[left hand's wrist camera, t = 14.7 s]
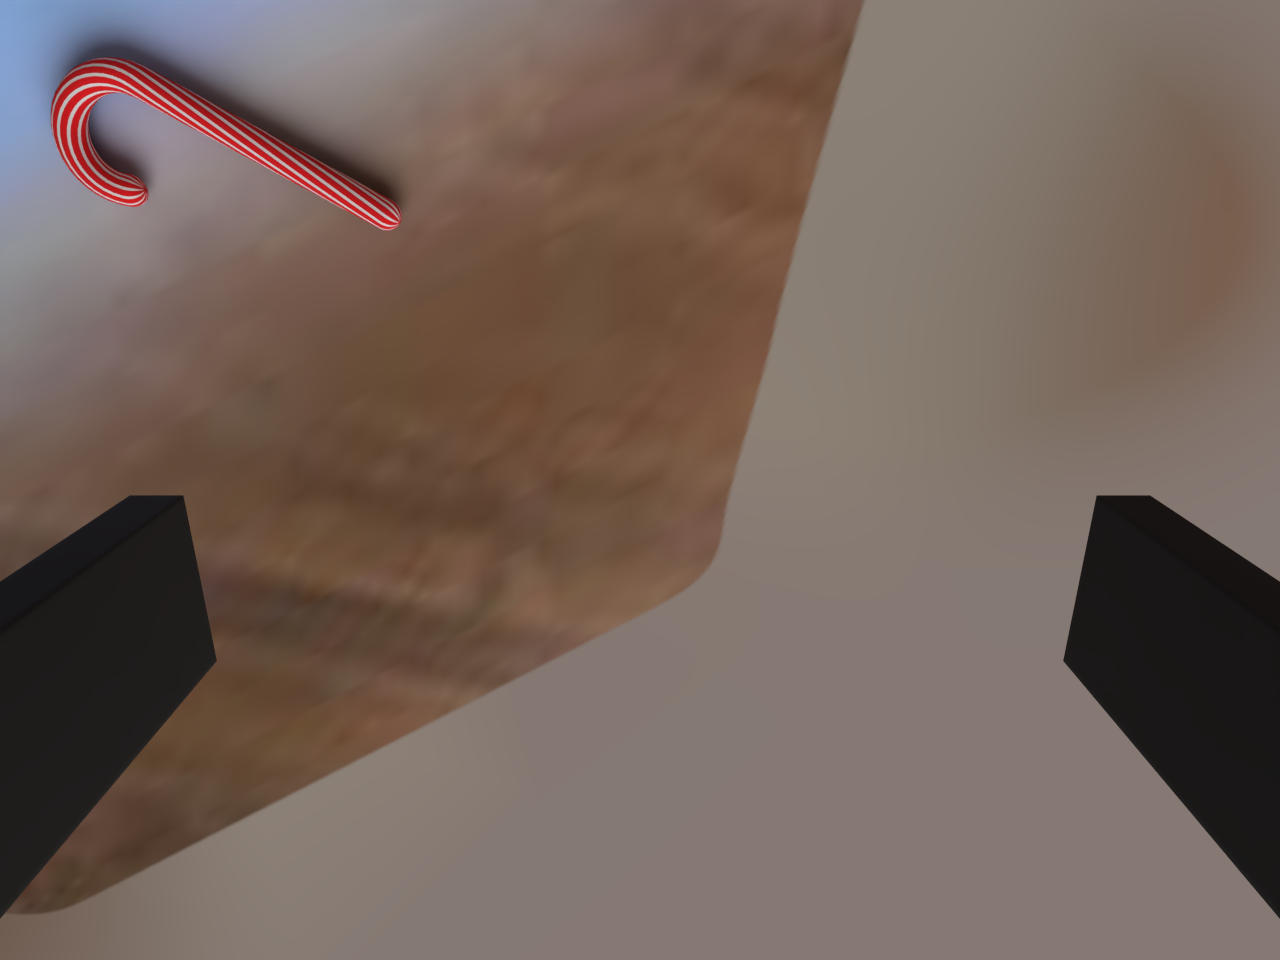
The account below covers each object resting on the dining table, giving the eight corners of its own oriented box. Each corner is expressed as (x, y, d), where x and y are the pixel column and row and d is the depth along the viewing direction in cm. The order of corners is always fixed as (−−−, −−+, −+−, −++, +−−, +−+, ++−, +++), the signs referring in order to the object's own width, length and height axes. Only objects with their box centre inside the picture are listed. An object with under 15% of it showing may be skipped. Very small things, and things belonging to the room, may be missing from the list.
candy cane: (362, 321, 41) (353, 327, 40) (48, 164, 38) (26, 164, 37) (411, 204, 39) (403, 206, 38) (84, 30, 36) (62, 26, 35)
